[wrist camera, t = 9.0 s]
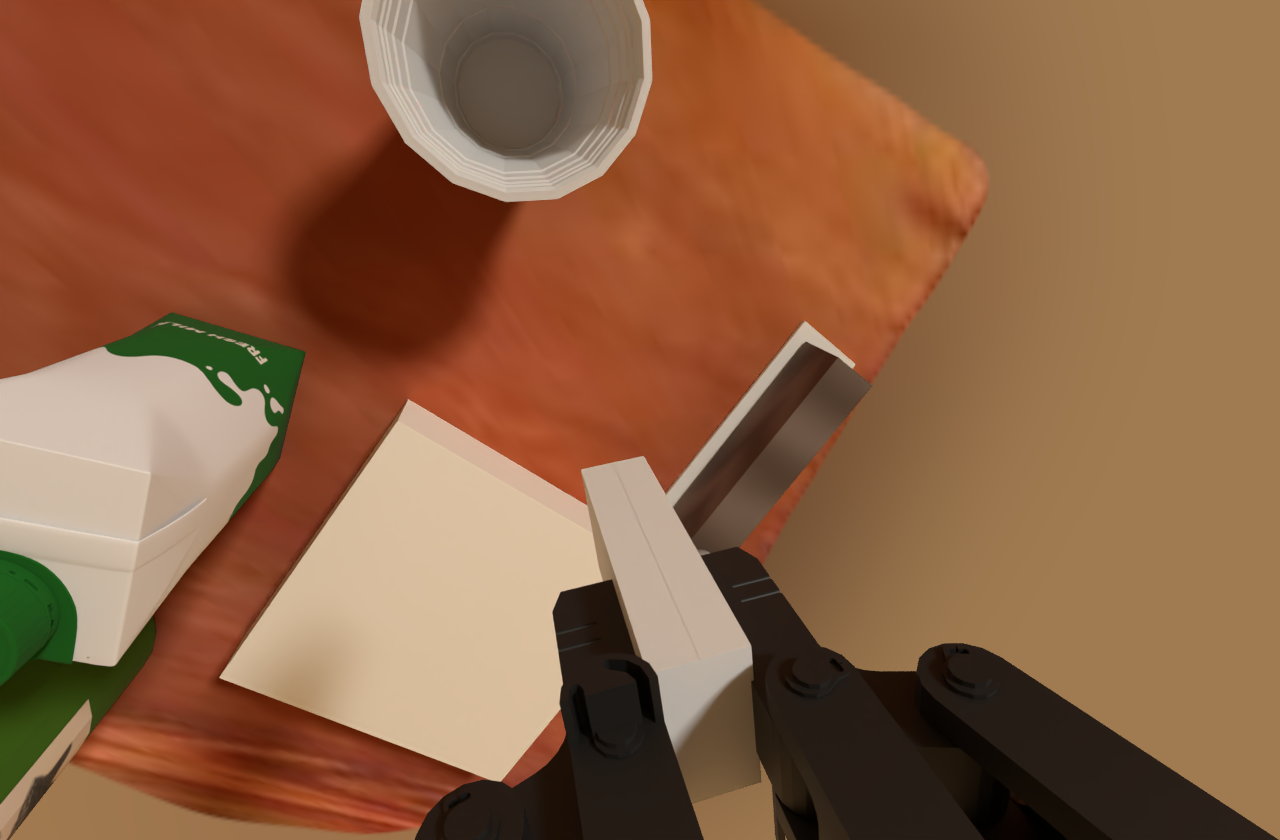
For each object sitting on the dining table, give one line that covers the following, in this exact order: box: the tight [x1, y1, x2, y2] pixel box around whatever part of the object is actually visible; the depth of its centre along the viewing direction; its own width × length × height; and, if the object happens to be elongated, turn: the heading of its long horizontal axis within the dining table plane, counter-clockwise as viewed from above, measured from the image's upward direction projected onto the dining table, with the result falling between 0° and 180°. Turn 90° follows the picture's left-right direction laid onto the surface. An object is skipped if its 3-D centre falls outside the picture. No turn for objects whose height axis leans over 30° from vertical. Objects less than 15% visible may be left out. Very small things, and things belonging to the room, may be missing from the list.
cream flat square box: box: [219, 399, 603, 782], centre depth 42 cm, size 20×20×4 cm
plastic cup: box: [359, 0, 652, 202], centre depth 29 cm, size 11×11×12 cm
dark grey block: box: [673, 341, 872, 556], centre depth 41 cm, size 17×3×6 cm, turn 143°
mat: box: [665, 320, 856, 508], centre depth 44 cm, size 5×18×1 cm, turn 142°
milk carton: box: [0, 313, 305, 686], centre depth 27 cm, size 9×9×20 cm
